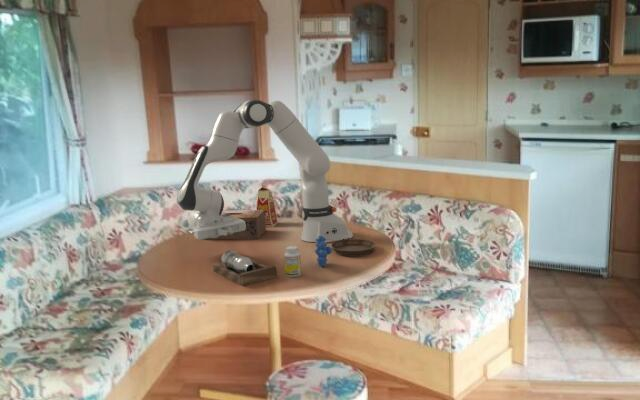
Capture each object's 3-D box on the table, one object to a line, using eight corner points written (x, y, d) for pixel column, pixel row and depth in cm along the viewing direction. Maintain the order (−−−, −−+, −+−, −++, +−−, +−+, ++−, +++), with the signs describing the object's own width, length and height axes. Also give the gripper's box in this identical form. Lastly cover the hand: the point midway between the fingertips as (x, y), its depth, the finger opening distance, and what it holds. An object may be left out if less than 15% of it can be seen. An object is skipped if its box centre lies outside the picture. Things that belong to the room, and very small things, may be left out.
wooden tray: (213, 270, 232) (212, 260, 232) (245, 262, 240) (245, 252, 239) (242, 285, 214) (241, 274, 214) (276, 276, 222) (276, 266, 221)
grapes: (336, 270, 227) (334, 238, 224) (317, 271, 226) (315, 239, 223) (331, 260, 238) (329, 230, 235) (313, 262, 237) (312, 231, 235)
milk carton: (273, 227, 294) (270, 185, 289) (254, 227, 295) (251, 185, 291) (278, 222, 302) (275, 181, 298) (259, 222, 304) (257, 181, 300)
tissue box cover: (265, 231, 288) (264, 209, 286) (258, 239, 274) (256, 217, 272) (211, 231, 292) (210, 210, 290) (201, 239, 278) (199, 218, 276)
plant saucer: (351, 243, 261) (351, 236, 261) (384, 250, 249) (384, 242, 249) (322, 253, 249) (321, 245, 248) (356, 261, 237) (355, 253, 236)
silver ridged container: (238, 255, 239) (262, 267, 222) (227, 269, 237) (251, 282, 220) (227, 245, 236) (250, 256, 219) (216, 259, 234) (238, 271, 217)
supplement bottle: (292, 271, 227) (291, 244, 225) (304, 274, 224) (302, 246, 222) (282, 275, 223) (280, 248, 221) (293, 278, 220) (292, 250, 218)
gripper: (186, 223, 237) (202, 229, 226) (234, 214, 249) (252, 219, 237) (188, 239, 238) (204, 246, 227) (236, 229, 250) (253, 235, 239)
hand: (229, 232), depth 232 cm, fingers closed
